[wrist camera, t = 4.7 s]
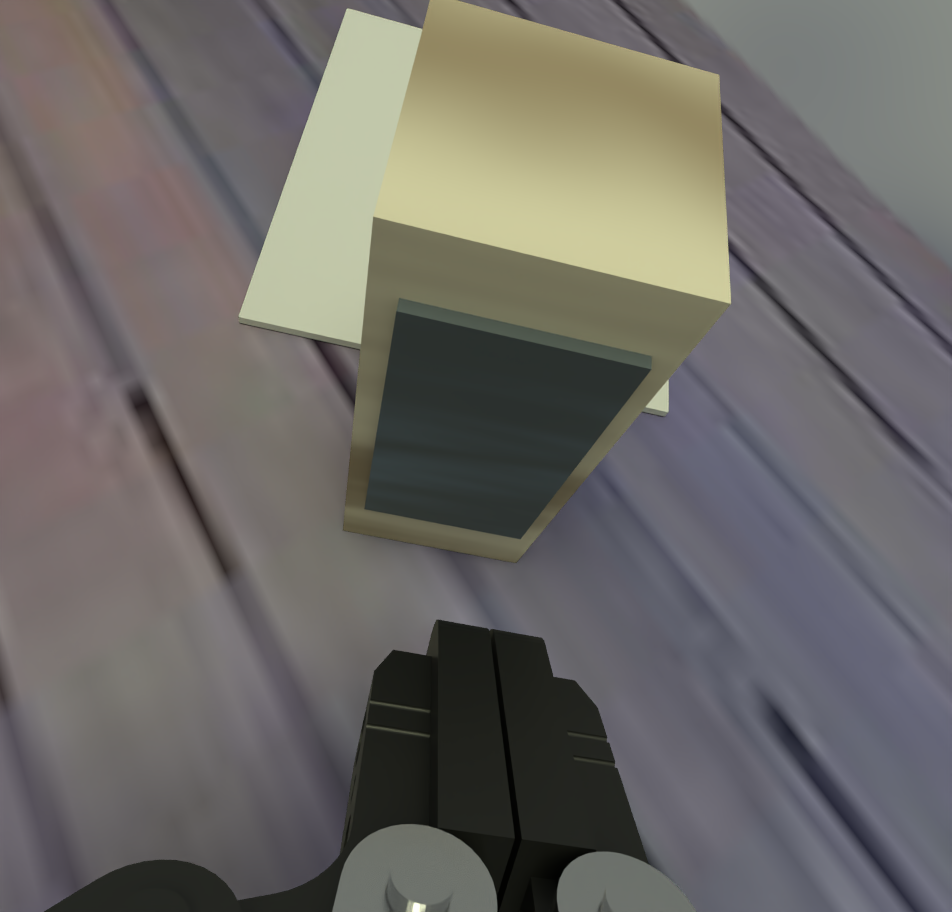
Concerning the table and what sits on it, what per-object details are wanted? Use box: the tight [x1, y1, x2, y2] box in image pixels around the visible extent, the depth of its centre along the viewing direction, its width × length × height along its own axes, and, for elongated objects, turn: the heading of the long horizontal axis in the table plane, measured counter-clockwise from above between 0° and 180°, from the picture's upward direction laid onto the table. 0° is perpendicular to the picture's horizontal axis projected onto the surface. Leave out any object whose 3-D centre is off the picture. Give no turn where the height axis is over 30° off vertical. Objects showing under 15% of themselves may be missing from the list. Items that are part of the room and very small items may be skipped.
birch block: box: [343, 0, 731, 563], centre depth 16 cm, size 5×5×12 cm
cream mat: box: [238, 8, 668, 417], centre depth 26 cm, size 16×14×1 cm
